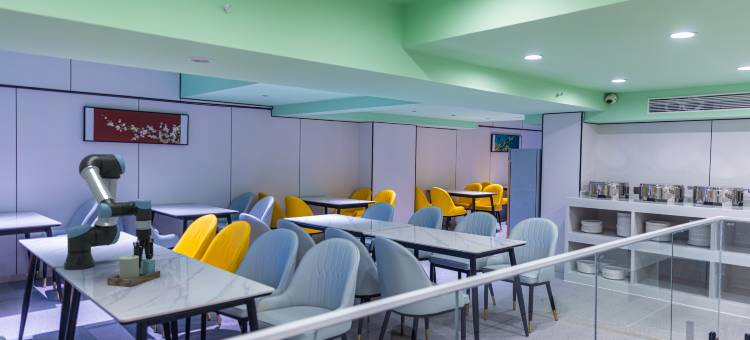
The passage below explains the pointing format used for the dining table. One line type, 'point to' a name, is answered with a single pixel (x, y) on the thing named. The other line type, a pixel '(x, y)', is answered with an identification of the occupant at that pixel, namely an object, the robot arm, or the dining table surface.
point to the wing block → (148, 266)
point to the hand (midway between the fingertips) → (143, 272)
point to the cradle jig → (130, 283)
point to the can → (129, 267)
